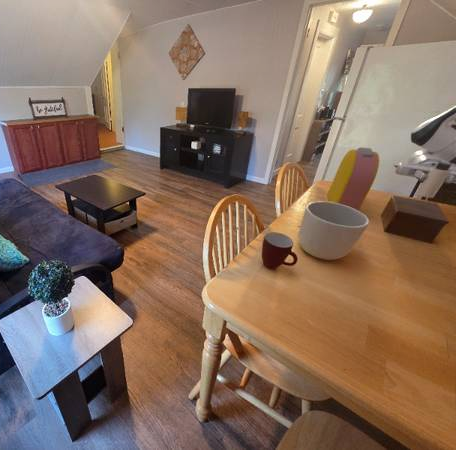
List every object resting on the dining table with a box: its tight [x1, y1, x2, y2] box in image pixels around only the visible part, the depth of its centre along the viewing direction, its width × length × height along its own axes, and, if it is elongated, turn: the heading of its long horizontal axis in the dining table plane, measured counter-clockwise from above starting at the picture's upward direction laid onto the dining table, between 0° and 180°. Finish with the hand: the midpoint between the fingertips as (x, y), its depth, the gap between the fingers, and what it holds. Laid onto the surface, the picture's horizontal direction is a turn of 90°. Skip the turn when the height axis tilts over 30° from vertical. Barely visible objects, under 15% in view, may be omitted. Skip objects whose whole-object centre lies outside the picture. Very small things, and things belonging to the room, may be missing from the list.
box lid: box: [390, 195, 449, 225], centre depth 93 cm, size 16×14×1 cm
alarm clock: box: [327, 146, 380, 211], centre depth 108 cm, size 21×9×26 cm, turn 154°
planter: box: [298, 200, 370, 261], centre depth 81 cm, size 17×17×15 cm
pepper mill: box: [415, 162, 452, 199], centre depth 87 cm, size 5×5×12 cm
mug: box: [261, 231, 299, 270], centre depth 75 cm, size 11×8×10 cm
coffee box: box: [380, 197, 446, 244], centre depth 96 cm, size 16×14×9 cm
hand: (436, 179), depth 86 cm, fingers closed on pepper mill, 5 cm apart
